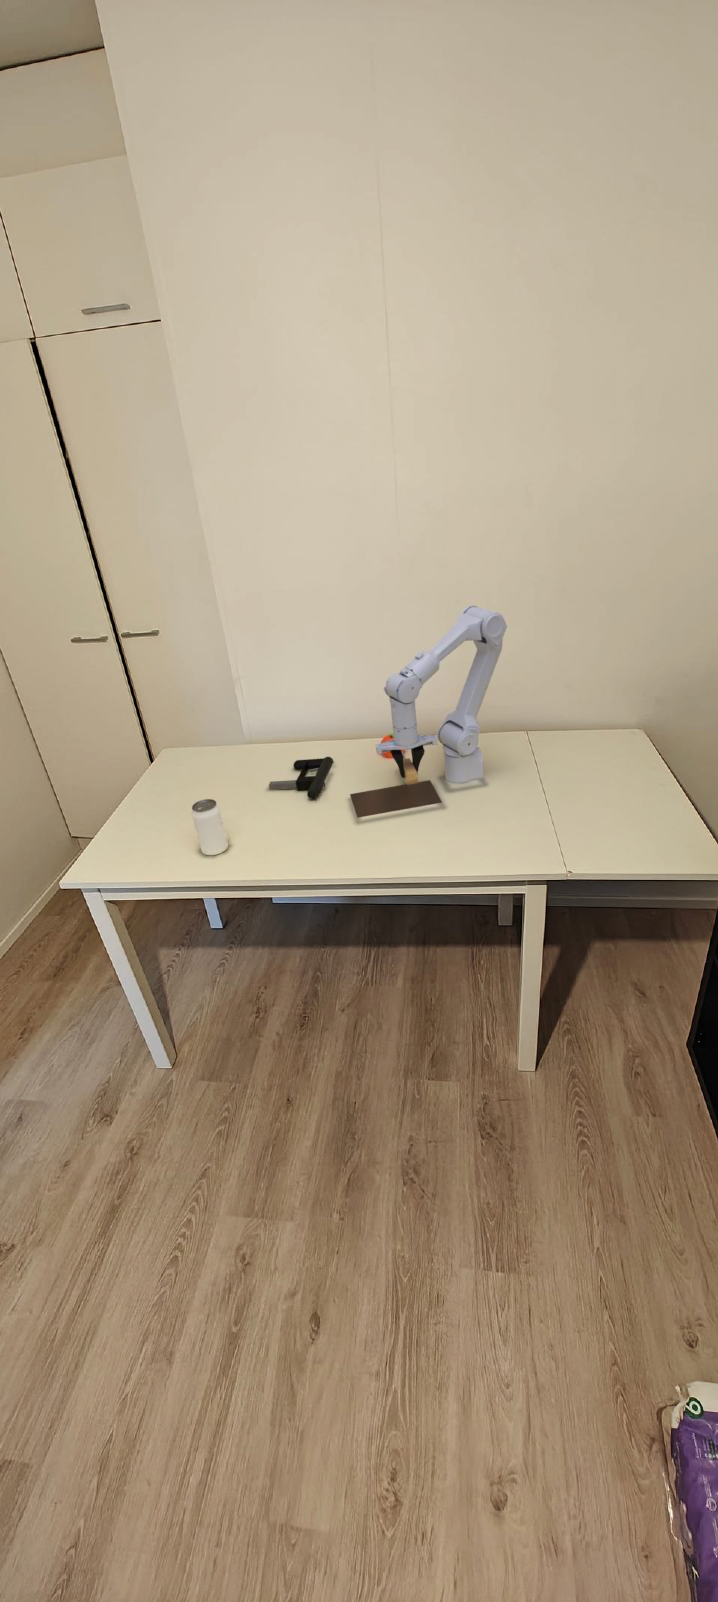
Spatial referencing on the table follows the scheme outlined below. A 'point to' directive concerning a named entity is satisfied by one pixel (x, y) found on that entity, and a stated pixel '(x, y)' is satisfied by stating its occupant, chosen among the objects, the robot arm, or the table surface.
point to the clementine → (385, 739)
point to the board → (394, 798)
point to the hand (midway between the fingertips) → (409, 774)
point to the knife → (409, 771)
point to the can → (209, 827)
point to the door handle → (307, 777)
